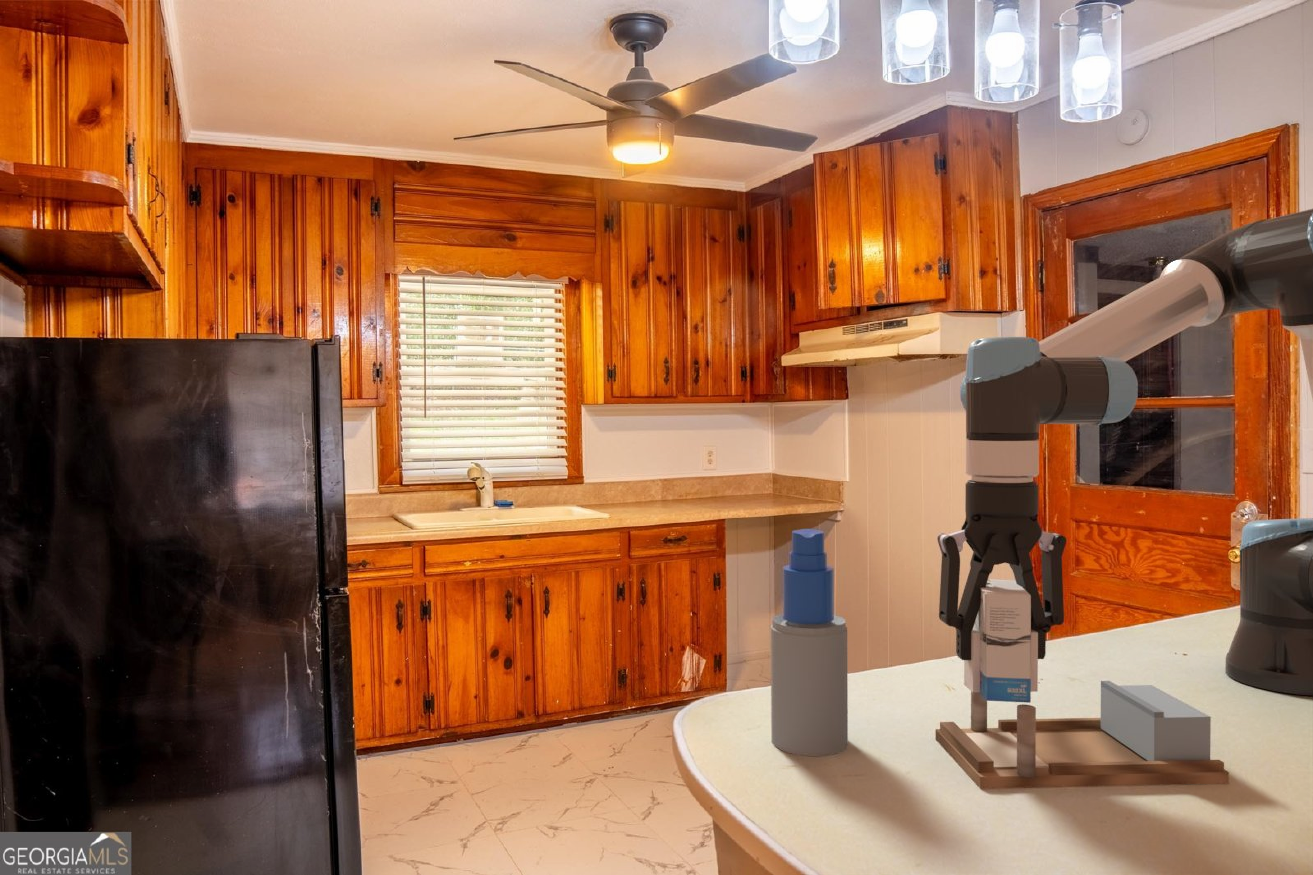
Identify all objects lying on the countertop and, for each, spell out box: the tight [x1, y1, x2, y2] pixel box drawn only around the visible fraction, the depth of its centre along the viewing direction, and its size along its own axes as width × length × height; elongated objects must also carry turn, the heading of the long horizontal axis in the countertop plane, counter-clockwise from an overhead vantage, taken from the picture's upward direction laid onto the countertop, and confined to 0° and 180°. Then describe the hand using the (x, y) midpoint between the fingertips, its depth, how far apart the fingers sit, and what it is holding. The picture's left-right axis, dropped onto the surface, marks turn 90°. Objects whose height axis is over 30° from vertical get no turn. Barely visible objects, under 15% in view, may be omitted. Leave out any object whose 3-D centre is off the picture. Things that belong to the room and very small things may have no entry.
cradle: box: [935, 690, 1230, 789], centre depth 101 cm, size 26×15×8 cm, turn 91°
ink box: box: [973, 578, 1032, 704], centre depth 101 cm, size 8×5×12 cm, turn 169°
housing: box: [1100, 680, 1212, 761], centre depth 101 cm, size 6×11×6 cm, turn 1°
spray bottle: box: [770, 528, 849, 757], centre depth 107 cm, size 9×9×25 cm
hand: (1000, 687), depth 101 cm, fingers closed on ink box, 6 cm apart
